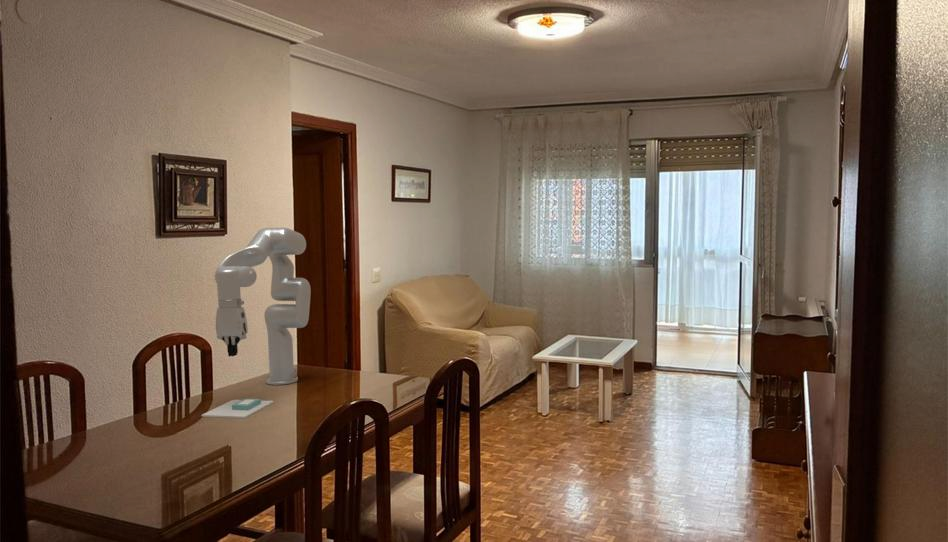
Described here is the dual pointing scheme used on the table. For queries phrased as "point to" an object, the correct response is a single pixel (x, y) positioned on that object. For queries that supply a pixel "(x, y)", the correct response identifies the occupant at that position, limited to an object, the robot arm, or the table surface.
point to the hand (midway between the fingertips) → (232, 355)
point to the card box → (246, 404)
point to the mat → (227, 411)
